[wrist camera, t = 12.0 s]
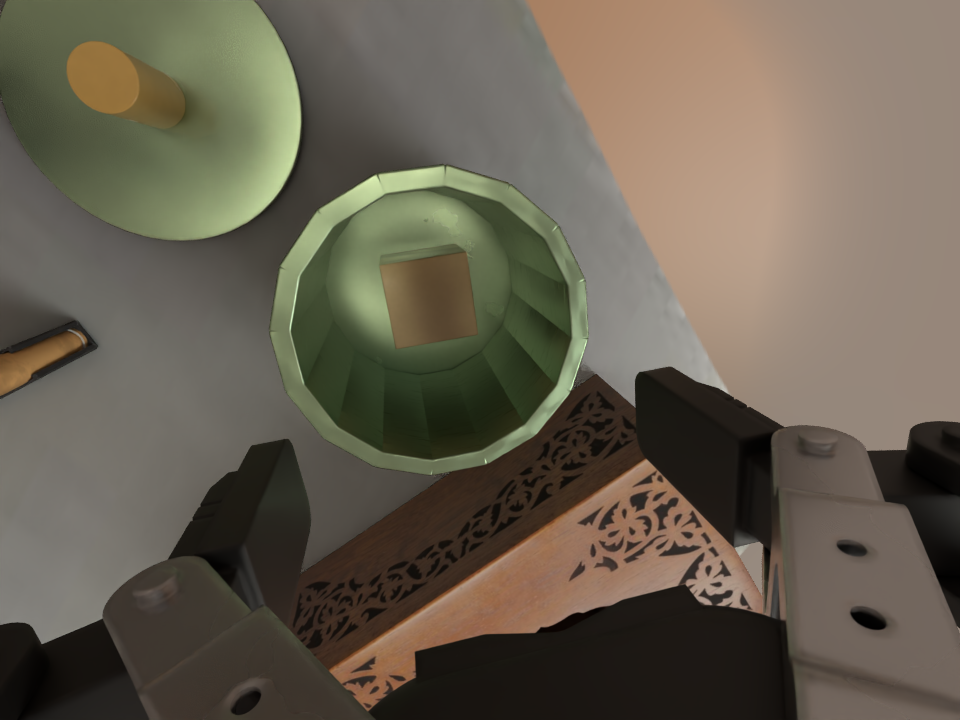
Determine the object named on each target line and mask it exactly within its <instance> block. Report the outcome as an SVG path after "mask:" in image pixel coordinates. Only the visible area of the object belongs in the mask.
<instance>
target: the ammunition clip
mask: <svg viewBox="0 0 960 720" xmlns="http://www.w3.org/2000/svg"><path fill="white" fill-rule="evenodd" d="M97 347H98V346H97V345H96V343H95V342H94V341H93V340H92V338H91V337H90V336H89V335H88V334H87V332H86V331H85V330H84V329H83V328H82V326H81V325H80V324H79V323H78V322H77V321H72V322H70V323H67V324H65V325H62V326H60V327H57V328H55V329H52V330H50V331H47V332H45V333H42V334H40V335H37V336H35V337H32V338H30V339H27V340H25V341H22V342H20V343H17V344H15V345H13V346H10V347H8V348H6V349H4V350H2V351H0V399H1V398H3V397H5V396H7V395H9V394H11V393H13V392H15V391H17V390H19V389H21V388H23V387H24V386H26V385H28V384H30V383H32V382H34V381H36V380H38V379H40V378H42V377H44V376H46V375H47V374H49V373H51V372H53V371H55V370H57V369H59V368H61V367H63V366H65V365H66V364H68V363H70V362H72V361H74V360H76V359H78V358H80V357H82V356H84V355H86V354H87V353H89V352H91V351H93V350H95V349H97Z"/></svg>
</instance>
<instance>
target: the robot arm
mask: <svg viewBox="0 0 960 720" xmlns="http://www.w3.org/2000/svg"><path fill="white" fill-rule="evenodd" d="M635 404H636V435H637V441H638V444H639V447H640V450H641V452H642V454H643V455H644V457H645V458H646V459H647V460H648V461H649V462H650V463H651V464H652V465H653V466H654V467H655V468H656V469H657V470H658V471H659V472H660V473H661V474H662V475H663V476H664V477H665V478H666V479H667V480H668V481H669V482H670V483H671V485H672V486H673V487H674V488H675V489H676V490H677V491H678V492H679V493H680V494H681V495H682V496H683V497H684V498H685V499H686V500H687V501H688V502H689V503H690V504H691V505H692V506H693V507H694V508H695V509H696V510H697V511H698V512H699V513H700V514H701V515H702V516H703V517H704V518H705V519H706V520H707V521H708V522H709V523H710V524H711V525H712V526H713V527H714V528H715V529H716V530H717V531H718V532H719V533H720V534H721V535H722V536H723V537H724V538H725V540H726V541H727V542H728V543H729V544H730V545H731V546H732V547H733V548H735V547H739V546H743V545H747V544H751V543H755V542H761V543H762V544H763V553H762V554H763V555H762V609H763V614H761V613H757V612H753V611H749V610H745V609H740V608H734V607H728V606H718V605H701V604H700V603H699V601H698V600H697V599H696V597H695V596H694V595H693V593H692V592H691V591H690V589H689V588H688V587H687V586H686V584H683V585H679V586H675V587H671V588H667V589H663V590H659V591H655V592H651V593H647V594H643V595H639V596H635V597H631V598H627V599H623V600H621V601H619V602H617V603H615V604H613V605H611V606H609V607H608V608H606V609H604V610H602V611H600V612H598V613H596V614H594V615H592V616H591V617H589V618H587V619H585V620H583V621H581V622H579V623H577V624H576V625H574V626H572V627H570V628H568V629H566V630H564V631H560V632H552V633H511V634H483V635H479V636H475V637H471V638H467V639H463V640H459V641H455V642H451V643H447V644H443V645H439V646H435V647H431V648H427V649H423V650H419V651H415V667H416V677H415V678H413V679H412V680H410V681H408V682H406V683H404V684H403V685H401V686H400V687H398V688H397V689H395V690H394V691H392V692H391V693H389V694H388V695H386V696H385V697H384V698H383V699H382V700H380V701H379V702H378V703H377V704H375V705H374V706H373V707H372V708H371V709H370V710H369V711H367V710H366V709H365V708H364V707H363V706H362V705H361V704H360V703H359V702H358V701H357V700H356V699H355V697H354V696H353V695H352V694H351V693H350V692H349V691H348V690H347V689H346V688H345V687H344V686H343V685H342V684H341V683H340V682H339V681H338V680H337V679H336V678H335V677H334V676H333V675H332V673H331V672H330V671H329V670H328V669H327V668H326V667H325V666H324V665H323V664H322V663H321V662H320V661H319V660H318V659H317V658H316V657H315V656H314V655H313V654H312V653H311V652H310V651H309V649H308V648H307V647H306V646H305V645H304V644H303V643H302V642H301V641H300V640H299V639H298V638H297V637H296V636H295V635H294V634H293V633H292V632H291V631H290V630H289V629H288V626H289V622H290V617H291V613H292V608H293V604H294V599H295V595H296V590H297V586H298V581H299V577H300V572H301V568H302V563H303V559H304V554H305V550H306V545H307V541H308V536H309V532H310V526H311V514H310V506H309V501H308V497H307V493H306V490H305V486H304V483H303V479H302V476H301V472H300V469H299V465H298V462H297V458H296V455H295V451H294V448H293V445H292V443H291V442H290V440H289V439H283V440H278V441H273V442H268V443H262V444H257V445H252V446H251V447H250V449H249V450H248V452H247V454H246V456H245V458H244V460H243V462H242V464H241V466H240V467H239V469H238V471H234V472H229V473H227V474H226V475H225V476H224V477H223V478H222V479H220V480H219V481H218V482H217V483H216V484H215V485H213V486H212V487H211V488H210V489H209V491H208V493H207V494H206V496H205V498H204V499H203V501H202V503H201V507H199V508H198V509H197V511H196V513H195V514H194V516H193V521H190V523H189V525H188V526H187V528H186V530H185V531H184V533H183V535H182V536H181V538H180V540H179V541H178V543H177V545H176V547H175V548H174V550H173V552H172V553H171V555H170V557H169V558H168V560H166V561H163V562H160V563H158V564H155V565H153V566H151V567H149V568H147V569H145V570H143V571H142V572H140V573H138V574H137V575H135V576H134V577H132V578H131V579H129V580H128V581H127V582H126V583H124V584H123V585H122V586H121V587H120V588H119V589H118V590H117V591H116V592H115V593H114V594H113V595H112V596H111V597H110V599H109V600H108V602H107V603H106V605H105V607H104V610H103V619H101V620H99V621H97V622H94V623H92V624H90V625H87V626H85V627H83V628H80V629H78V630H75V631H73V632H71V633H68V634H66V635H63V636H61V637H59V638H56V639H54V640H52V641H49V642H47V643H44V644H41V642H40V640H39V638H38V637H37V635H36V633H35V631H34V629H33V628H32V627H31V626H30V625H28V624H26V623H19V622H17V623H8V624H3V625H0V720H960V633H959V630H958V628H957V627H959V628H960V423H958V422H944V421H935V422H925V423H921V424H917V425H915V426H914V427H912V428H911V430H910V434H909V439H908V444H907V450H887V451H867V450H866V448H865V447H864V445H863V444H862V443H861V442H860V441H858V440H857V439H855V438H854V437H852V436H850V435H848V434H846V433H843V432H840V431H837V430H834V429H830V428H825V427H819V426H808V425H798V426H790V427H783V426H781V425H780V424H778V423H776V422H775V421H773V420H771V419H770V418H768V417H766V416H764V415H763V414H761V413H759V412H758V411H756V410H754V409H753V408H751V407H748V408H747V405H746V404H744V403H742V402H741V401H739V400H737V399H735V400H734V397H732V396H730V395H729V394H727V393H725V392H724V391H722V390H720V389H718V388H716V387H712V386H709V385H706V384H702V383H699V382H696V381H694V380H693V379H691V378H689V377H688V376H686V375H684V374H683V373H681V372H679V371H678V370H676V369H674V368H673V367H665V368H659V369H654V370H649V371H644V372H639V373H638V374H637V376H636V379H635Z"/></svg>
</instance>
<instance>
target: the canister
mask: <svg viewBox="0 0 960 720" xmlns="http://www.w3.org/2000/svg"><path fill="white" fill-rule="evenodd" d="M450 244H457V245H458V246H459V247H461V248H462V249H463V250H465V251H466V252H467V257H468V264H469V271H470V278H471V286H472V293H473V300H474V307H475V314H476V321H477V329H478V335H474V336H468V337H463V338H457V339H451V340H446V341H440V342H434V343H429V344H423V345H417V346H412V347H406V348H401V349H396V348H395V343H394V338H393V333H392V328H391V323H390V318H389V313H388V308H387V303H386V298H385V293H384V288H383V283H382V278H381V273H380V268H379V265H380V258H381V255H385V254H392V253H398V252H405V251H411V250H417V249H424V248H430V247H437V246H443V245H450ZM269 330H270V331H269V334H270V338H271V342H272V345H273V349H274V352H275V356H276V360H277V363H278V367H279V370H280V374H281V378H282V381H283V385H284V388H285V391H286V393H287V394H288V396H289V397H290V398H291V399H292V401H293V402H294V403H295V404H296V406H297V407H298V408H299V409H300V411H301V412H302V413H303V414H304V416H305V417H306V418H307V419H308V420H309V422H310V423H311V424H312V425H313V427H314V428H315V429H316V430H317V432H318V433H319V434H320V435H321V437H322V438H323V439H325V440H327V441H328V442H330V443H332V444H334V445H336V446H337V447H339V448H341V449H343V450H345V451H346V452H348V453H350V454H352V455H354V456H355V457H357V458H359V459H361V460H363V461H364V462H366V463H368V464H370V465H372V466H373V467H375V466H376V467H377V468H383V469H390V470H397V471H404V472H411V473H417V474H424V475H437V474H442V473H447V472H452V471H457V470H462V469H467V468H472V467H477V466H482V465H486V464H487V463H490V462H492V461H494V460H495V459H497V458H499V457H500V456H502V455H504V454H505V453H507V452H509V451H510V450H512V449H514V448H515V447H517V446H519V445H520V444H522V443H524V442H525V441H527V440H529V439H530V438H532V437H534V436H535V435H536V434H537V433H538V432H539V431H540V429H541V428H542V427H543V426H544V424H545V423H546V422H547V421H548V419H549V418H550V417H551V416H552V415H553V413H554V412H555V411H556V410H557V408H558V407H559V406H560V405H561V403H562V402H563V401H564V400H565V399H566V397H567V396H568V395H569V394H570V391H571V390H572V387H573V384H574V381H575V378H576V375H577V372H578V369H579V366H580V363H581V360H582V357H583V354H584V351H585V348H586V345H587V342H588V337H589V332H588V315H587V297H586V281H585V280H584V276H583V274H582V272H581V269H580V267H579V265H578V263H577V261H576V259H575V257H574V255H573V253H572V251H571V249H570V247H569V245H568V243H567V241H566V239H565V237H564V235H563V233H562V231H561V229H560V227H559V226H558V224H557V223H556V222H555V221H554V220H553V219H551V218H550V217H549V216H548V215H547V214H546V213H544V212H543V211H542V210H541V209H540V208H539V207H537V206H536V205H535V204H534V203H533V202H532V201H530V200H529V199H528V198H527V197H526V196H525V195H523V194H522V193H521V192H520V191H519V190H517V189H516V188H515V187H514V186H513V185H512V184H509V183H508V182H505V181H501V180H498V179H495V178H491V177H488V176H485V175H481V174H478V173H475V172H471V171H468V170H464V169H461V168H458V167H454V166H451V165H448V164H447V165H444V164H440V165H432V166H424V167H416V168H409V169H401V170H393V171H385V172H379V173H377V174H373V175H372V176H370V177H368V178H367V179H365V180H363V181H362V182H360V183H359V184H357V185H355V186H354V187H352V188H351V189H349V190H347V191H346V192H344V193H342V194H341V195H339V196H338V197H336V198H334V199H333V200H331V201H329V202H328V203H326V204H325V205H323V206H321V207H320V208H318V210H316V211H315V213H314V214H313V216H312V217H311V219H310V220H309V222H308V223H307V225H306V226H305V228H304V229H303V231H302V232H301V234H300V235H299V237H298V238H297V240H296V241H295V243H294V244H293V246H292V247H291V249H290V250H289V252H288V253H287V255H286V256H285V258H284V259H283V261H282V262H281V264H280V267H279V268H278V274H277V281H276V287H275V294H274V300H273V306H272V313H271V319H270V326H269Z"/></svg>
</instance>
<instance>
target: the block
mask: <svg viewBox="0 0 960 720" xmlns="http://www.w3.org/2000/svg"><path fill="white" fill-rule="evenodd" d="M379 268H380V273H381V278H382V283H383V288H384V293H385V298H386V303H387V308H388V313H389V318H390V323H391V328H392V333H393V338H394V343H395V348H396V349H401V348H406V347H412V346H417V345H423V344H429V343H434V342H440V341H446V340H451V339H457V338H463V337H468V336H474V335H478V329H477V321H476V314H475V307H474V300H473V293H472V286H471V278H470V271H469V264H468V257H467V252H466V251H465V250H463V249H462V248H461V247H459V246H458V245H457V244H450V245H443V246H437V247H430V248H424V249H417V250H411V251H405V252H398V253H392V254H385V255H381V258H380V265H379Z"/></svg>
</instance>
